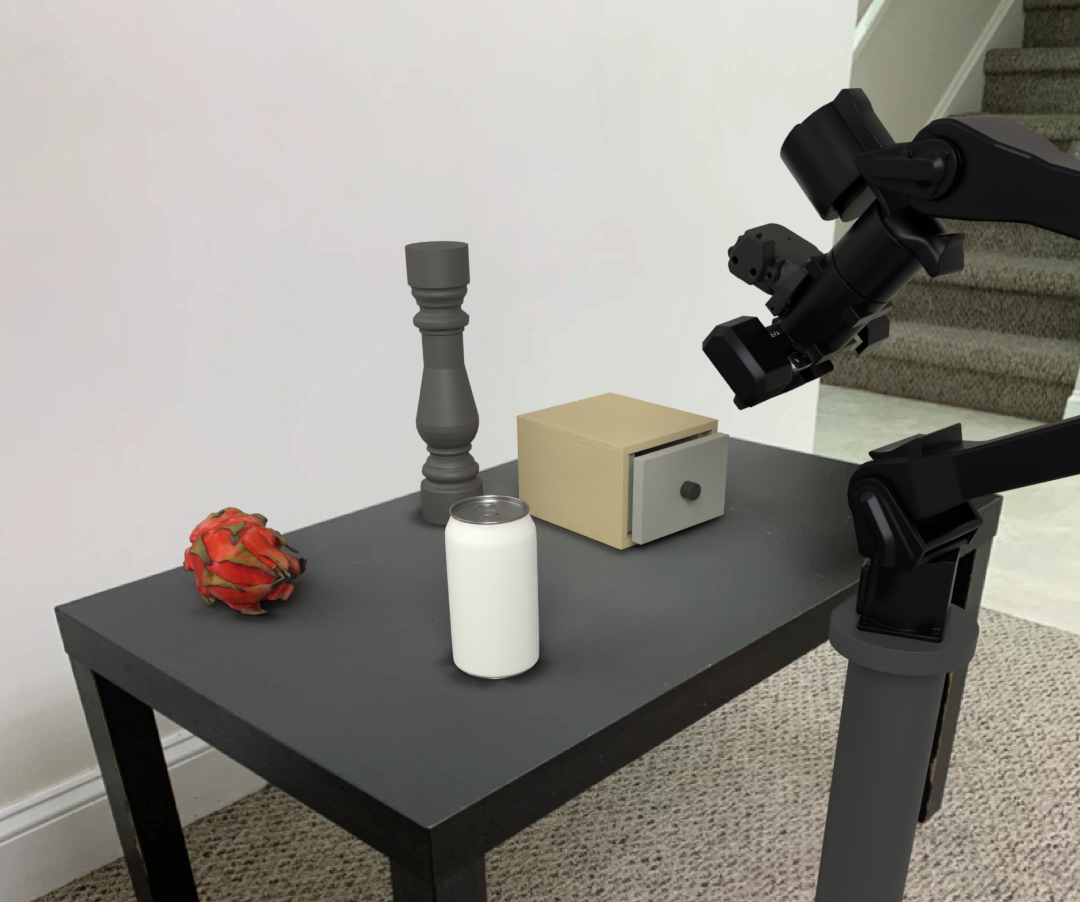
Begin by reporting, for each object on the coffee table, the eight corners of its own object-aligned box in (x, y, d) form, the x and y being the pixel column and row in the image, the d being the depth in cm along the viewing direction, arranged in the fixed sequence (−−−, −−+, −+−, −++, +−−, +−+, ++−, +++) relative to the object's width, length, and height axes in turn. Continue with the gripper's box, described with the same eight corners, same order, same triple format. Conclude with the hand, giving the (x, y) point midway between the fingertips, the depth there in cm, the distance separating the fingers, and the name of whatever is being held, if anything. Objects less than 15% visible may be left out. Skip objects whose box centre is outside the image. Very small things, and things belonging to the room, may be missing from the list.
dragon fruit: (216, 594, 97) (299, 651, 91) (139, 567, 90) (223, 627, 84) (258, 509, 97) (345, 561, 90) (184, 475, 89) (272, 529, 83)
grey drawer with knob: (733, 517, 105) (739, 437, 101) (650, 548, 98) (653, 463, 94) (625, 482, 114) (626, 407, 110) (543, 508, 108) (541, 429, 104)
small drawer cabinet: (712, 516, 108) (718, 419, 103) (621, 550, 101) (623, 447, 96) (609, 482, 117) (610, 392, 112) (519, 510, 110) (516, 415, 105)
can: (463, 687, 79) (453, 529, 72) (445, 648, 84) (435, 498, 78) (549, 674, 80) (546, 518, 74) (527, 637, 85) (522, 488, 79)
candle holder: (496, 510, 110) (485, 242, 98) (460, 529, 106) (444, 251, 93) (446, 500, 113) (429, 239, 100) (410, 518, 109) (387, 247, 96)
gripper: (864, 168, 85) (747, 306, 98) (721, 206, 75) (610, 356, 87) (950, 279, 85) (820, 404, 97) (818, 334, 74) (691, 466, 87)
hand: (738, 404), depth 92 cm, fingers closed
